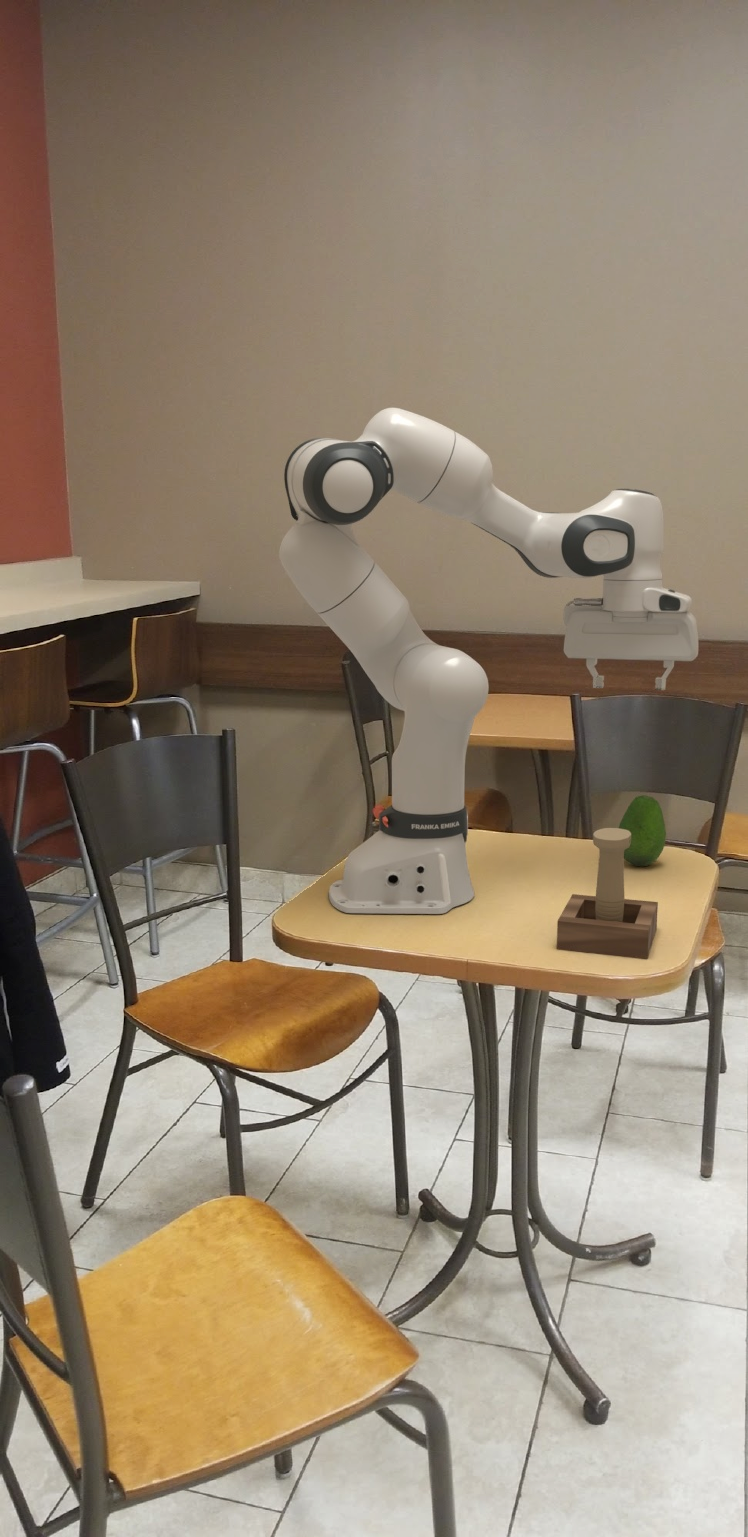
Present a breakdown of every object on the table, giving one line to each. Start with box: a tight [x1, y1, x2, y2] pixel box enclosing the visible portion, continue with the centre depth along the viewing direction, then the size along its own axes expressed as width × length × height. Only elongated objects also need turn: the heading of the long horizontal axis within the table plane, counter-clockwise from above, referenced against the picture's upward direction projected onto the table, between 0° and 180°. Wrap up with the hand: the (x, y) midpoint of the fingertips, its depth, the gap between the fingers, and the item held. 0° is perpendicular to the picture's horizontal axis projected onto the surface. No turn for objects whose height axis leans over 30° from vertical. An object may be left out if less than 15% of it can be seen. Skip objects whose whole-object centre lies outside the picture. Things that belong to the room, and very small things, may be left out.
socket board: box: [556, 893, 659, 960], centre depth 159 cm, size 12×12×4 cm
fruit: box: [618, 794, 667, 867], centre depth 192 cm, size 8×8×12 cm
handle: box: [592, 827, 631, 922], centre depth 158 cm, size 5×6×15 cm
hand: (629, 688), depth 179 cm, fingers open, 8 cm apart
